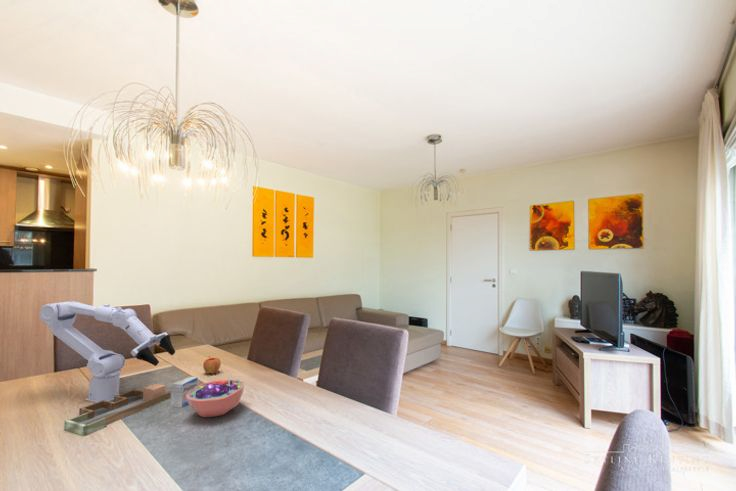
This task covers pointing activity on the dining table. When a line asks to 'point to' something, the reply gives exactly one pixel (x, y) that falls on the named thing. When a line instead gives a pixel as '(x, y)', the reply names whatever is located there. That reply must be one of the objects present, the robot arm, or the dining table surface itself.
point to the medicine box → (182, 391)
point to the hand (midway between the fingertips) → (165, 358)
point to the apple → (211, 365)
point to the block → (153, 391)
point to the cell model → (215, 397)
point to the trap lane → (110, 411)
